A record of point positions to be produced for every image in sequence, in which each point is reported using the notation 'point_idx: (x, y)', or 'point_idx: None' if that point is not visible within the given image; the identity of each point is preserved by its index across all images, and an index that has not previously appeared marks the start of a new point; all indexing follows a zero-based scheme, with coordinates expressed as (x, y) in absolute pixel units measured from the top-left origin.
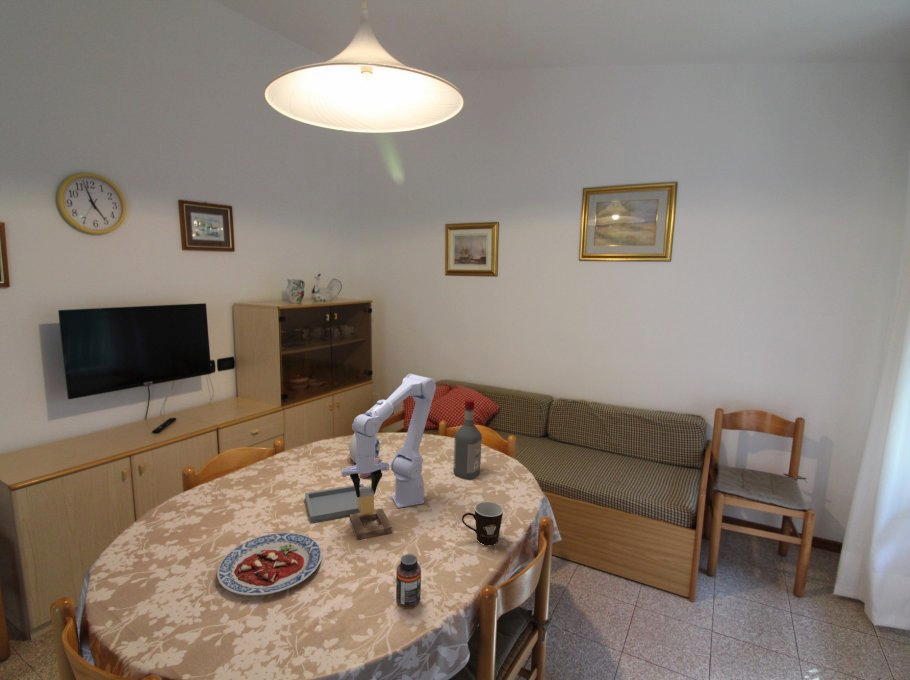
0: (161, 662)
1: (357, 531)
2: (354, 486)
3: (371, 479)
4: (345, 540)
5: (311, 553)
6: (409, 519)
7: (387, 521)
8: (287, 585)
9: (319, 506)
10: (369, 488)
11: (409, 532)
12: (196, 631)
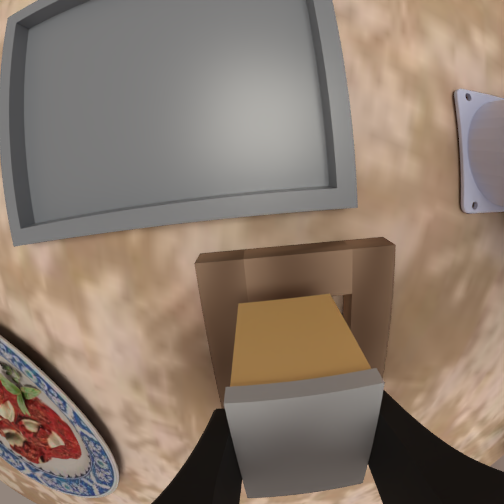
0: (7, 483)
1: None
2: (186, 467)
3: (416, 465)
4: (180, 397)
5: (84, 440)
6: (463, 313)
7: (377, 367)
8: (77, 494)
9: (55, 101)
10: (354, 432)
11: (423, 392)
12: (7, 471)
